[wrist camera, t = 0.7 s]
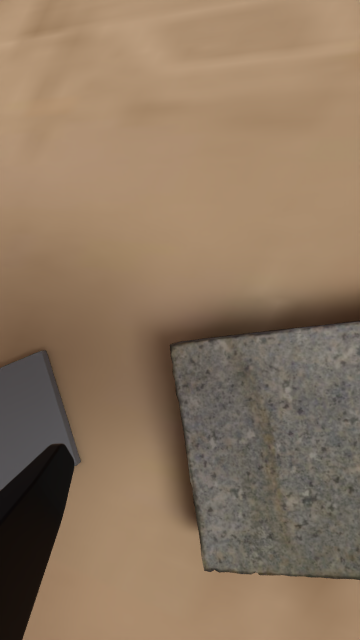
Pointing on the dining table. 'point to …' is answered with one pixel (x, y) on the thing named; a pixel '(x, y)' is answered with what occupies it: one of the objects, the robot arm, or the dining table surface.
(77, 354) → the dining table surface
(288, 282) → the dining table surface
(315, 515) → the stone block
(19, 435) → the slate mat
